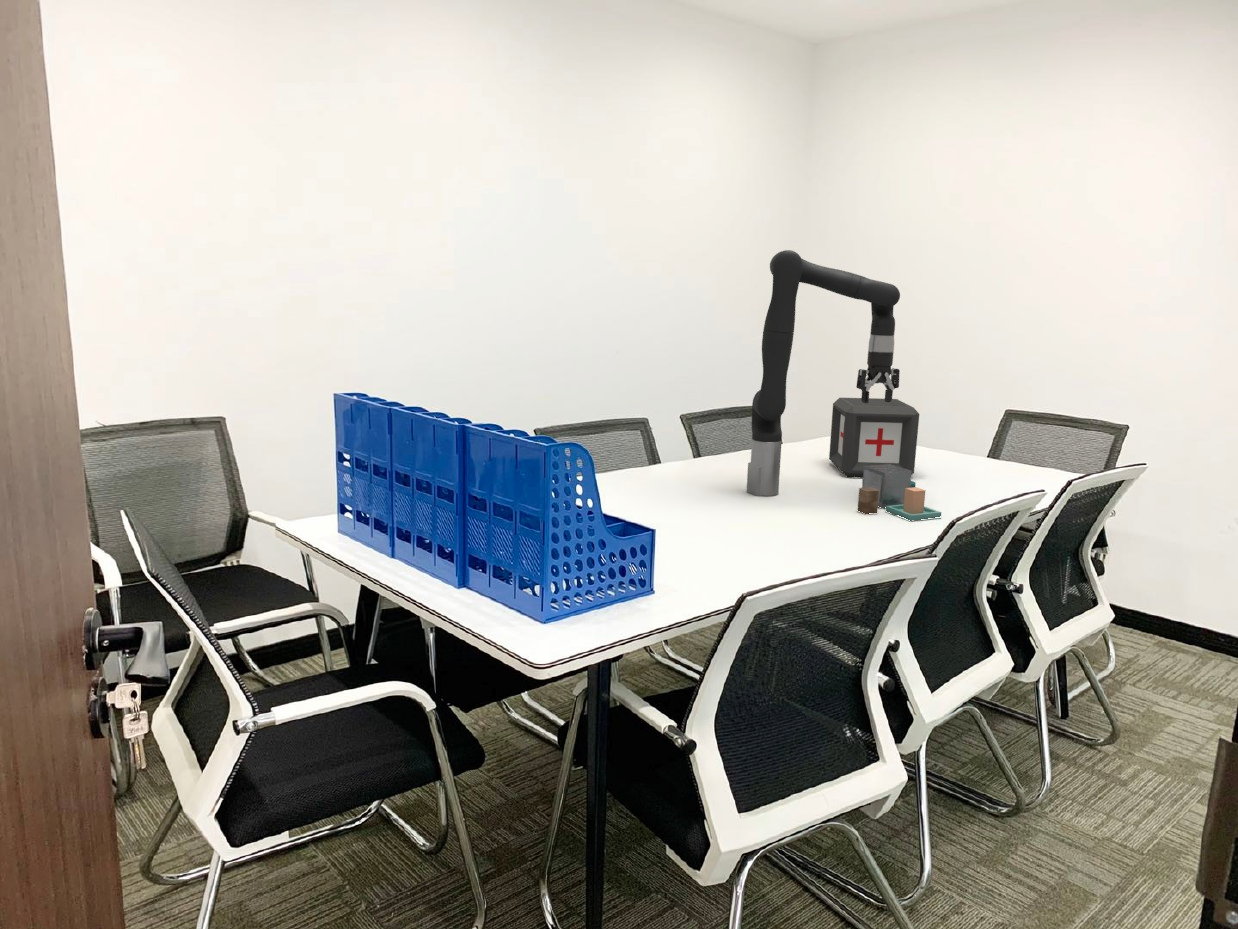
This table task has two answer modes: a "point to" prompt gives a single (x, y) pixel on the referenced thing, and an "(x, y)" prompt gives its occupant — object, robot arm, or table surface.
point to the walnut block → (868, 500)
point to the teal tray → (925, 515)
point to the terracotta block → (914, 500)
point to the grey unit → (887, 483)
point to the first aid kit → (872, 434)
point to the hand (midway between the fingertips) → (876, 402)
